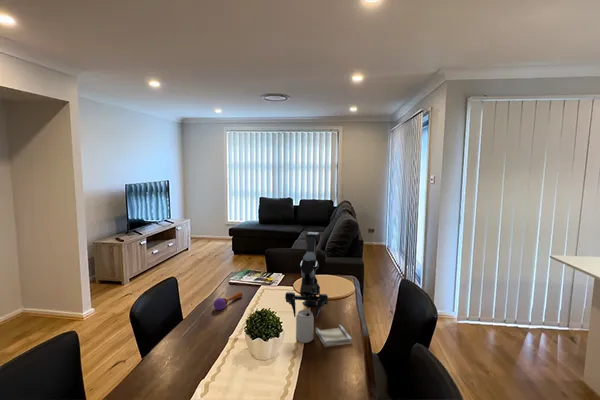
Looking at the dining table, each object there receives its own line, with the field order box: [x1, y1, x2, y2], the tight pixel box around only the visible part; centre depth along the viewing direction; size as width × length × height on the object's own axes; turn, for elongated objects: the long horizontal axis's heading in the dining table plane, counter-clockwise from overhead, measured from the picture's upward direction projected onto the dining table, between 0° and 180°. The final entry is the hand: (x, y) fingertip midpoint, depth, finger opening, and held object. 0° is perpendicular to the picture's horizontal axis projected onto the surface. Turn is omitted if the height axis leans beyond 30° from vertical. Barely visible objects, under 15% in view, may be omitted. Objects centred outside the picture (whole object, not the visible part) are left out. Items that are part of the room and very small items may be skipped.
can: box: [295, 309, 315, 344], centre depth 138 cm, size 8×8×12 cm
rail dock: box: [315, 323, 353, 348], centre depth 140 cm, size 12×12×2 cm
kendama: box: [213, 290, 243, 311], centre depth 170 cm, size 6×6×20 cm
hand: (305, 317), depth 139 cm, fingers open, 9 cm apart
